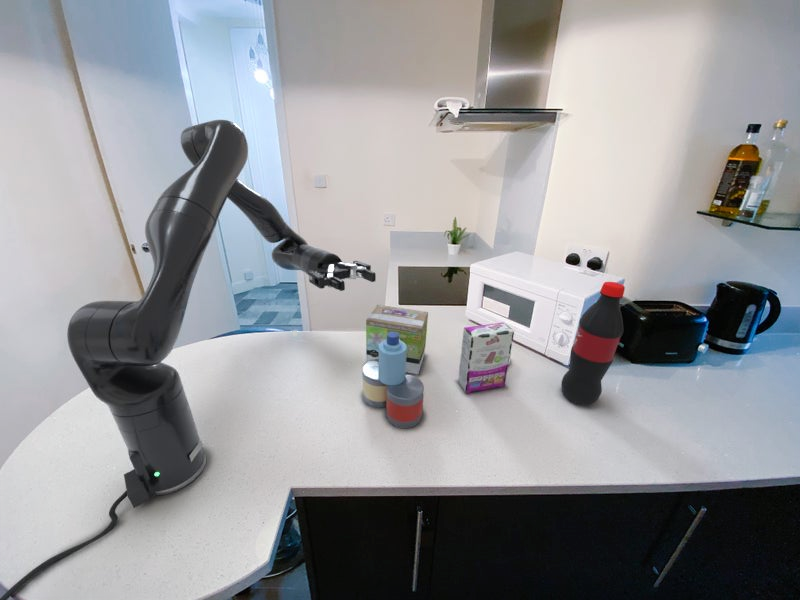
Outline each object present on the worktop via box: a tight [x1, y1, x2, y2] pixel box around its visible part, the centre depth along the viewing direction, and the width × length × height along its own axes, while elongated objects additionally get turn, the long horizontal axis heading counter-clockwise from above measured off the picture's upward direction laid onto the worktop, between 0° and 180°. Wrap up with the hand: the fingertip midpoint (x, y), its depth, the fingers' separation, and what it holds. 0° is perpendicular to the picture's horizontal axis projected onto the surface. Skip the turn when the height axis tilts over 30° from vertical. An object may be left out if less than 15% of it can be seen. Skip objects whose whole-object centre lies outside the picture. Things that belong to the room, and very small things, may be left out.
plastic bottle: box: [379, 331, 407, 385], centre depth 68 cm, size 6×6×11 cm
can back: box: [362, 359, 387, 409], centre depth 75 cm, size 8×8×8 cm
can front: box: [385, 374, 425, 429], centre depth 69 cm, size 8×8×8 cm
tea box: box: [365, 304, 429, 375], centre depth 87 cm, size 15×10×15 cm
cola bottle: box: [560, 281, 626, 406], centre depth 72 cm, size 8×8×30 cm
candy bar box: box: [457, 321, 515, 394], centre depth 78 cm, size 11×5×16 cm, turn 105°
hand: (359, 281), depth 69 cm, fingers open, 8 cm apart
